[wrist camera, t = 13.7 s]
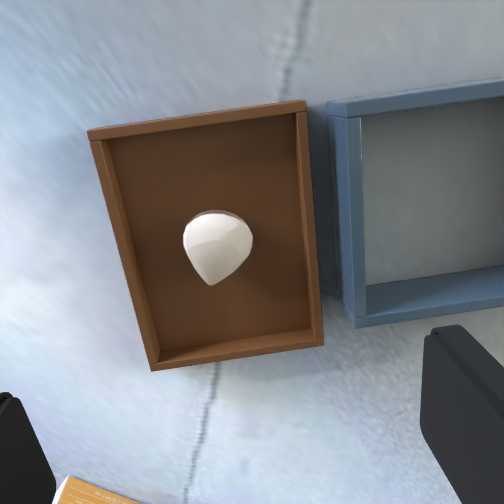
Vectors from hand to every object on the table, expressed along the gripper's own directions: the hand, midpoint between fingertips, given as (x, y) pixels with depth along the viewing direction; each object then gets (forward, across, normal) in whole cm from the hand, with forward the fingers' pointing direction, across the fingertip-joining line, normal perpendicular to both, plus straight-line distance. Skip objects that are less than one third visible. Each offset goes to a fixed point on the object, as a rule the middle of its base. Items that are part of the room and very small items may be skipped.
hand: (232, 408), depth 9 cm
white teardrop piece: (+18, +1, +3) cm, 18 cm away
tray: (+18, +1, +3) cm, 18 cm away
